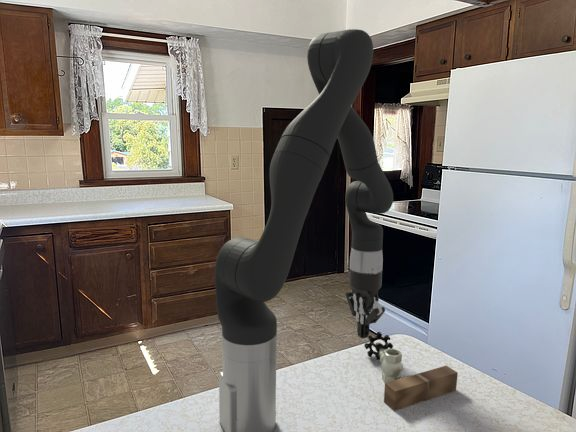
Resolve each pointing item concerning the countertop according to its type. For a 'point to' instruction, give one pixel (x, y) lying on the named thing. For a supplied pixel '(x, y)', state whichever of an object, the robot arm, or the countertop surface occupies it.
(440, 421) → the countertop surface
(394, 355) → the valve
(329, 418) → the countertop surface
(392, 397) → the bar
